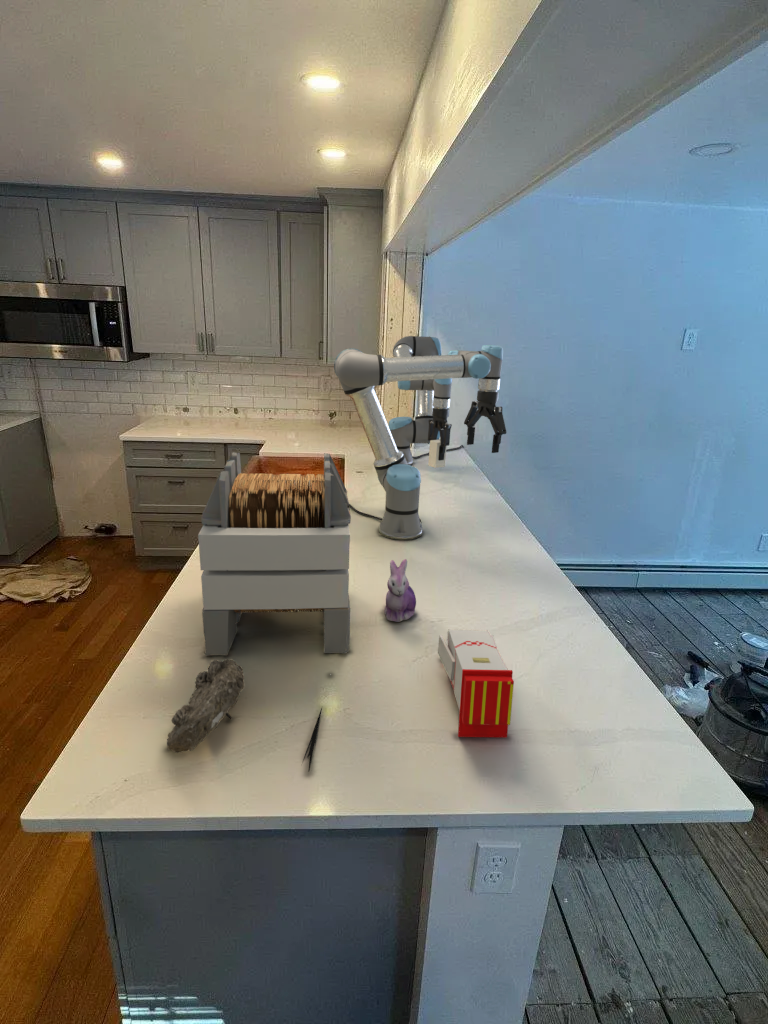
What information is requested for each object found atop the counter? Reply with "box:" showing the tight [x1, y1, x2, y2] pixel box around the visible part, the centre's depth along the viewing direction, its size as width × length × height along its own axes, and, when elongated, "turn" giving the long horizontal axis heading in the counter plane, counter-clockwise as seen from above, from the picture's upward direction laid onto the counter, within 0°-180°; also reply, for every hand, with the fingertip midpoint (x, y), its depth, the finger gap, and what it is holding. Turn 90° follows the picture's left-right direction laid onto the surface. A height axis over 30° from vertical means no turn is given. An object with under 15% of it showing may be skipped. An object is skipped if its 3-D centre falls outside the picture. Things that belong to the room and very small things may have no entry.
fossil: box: [166, 658, 245, 754], centre depth 106 cm, size 22×10×15 cm
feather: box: [301, 673, 332, 771], centre depth 108 cm, size 2×28×2 cm
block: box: [428, 438, 448, 469], centre depth 259 cm, size 6×5×12 cm
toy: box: [437, 628, 515, 738], centre depth 117 cm, size 12×13×30 cm
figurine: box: [384, 558, 417, 623], centre depth 145 cm, size 9×10×15 cm
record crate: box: [197, 451, 352, 657], centre depth 136 cm, size 34×33×41 cm
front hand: (482, 448), depth 210 cm, fingers open, 13 cm apart
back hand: (437, 458), depth 259 cm, fingers closed on block, 5 cm apart
